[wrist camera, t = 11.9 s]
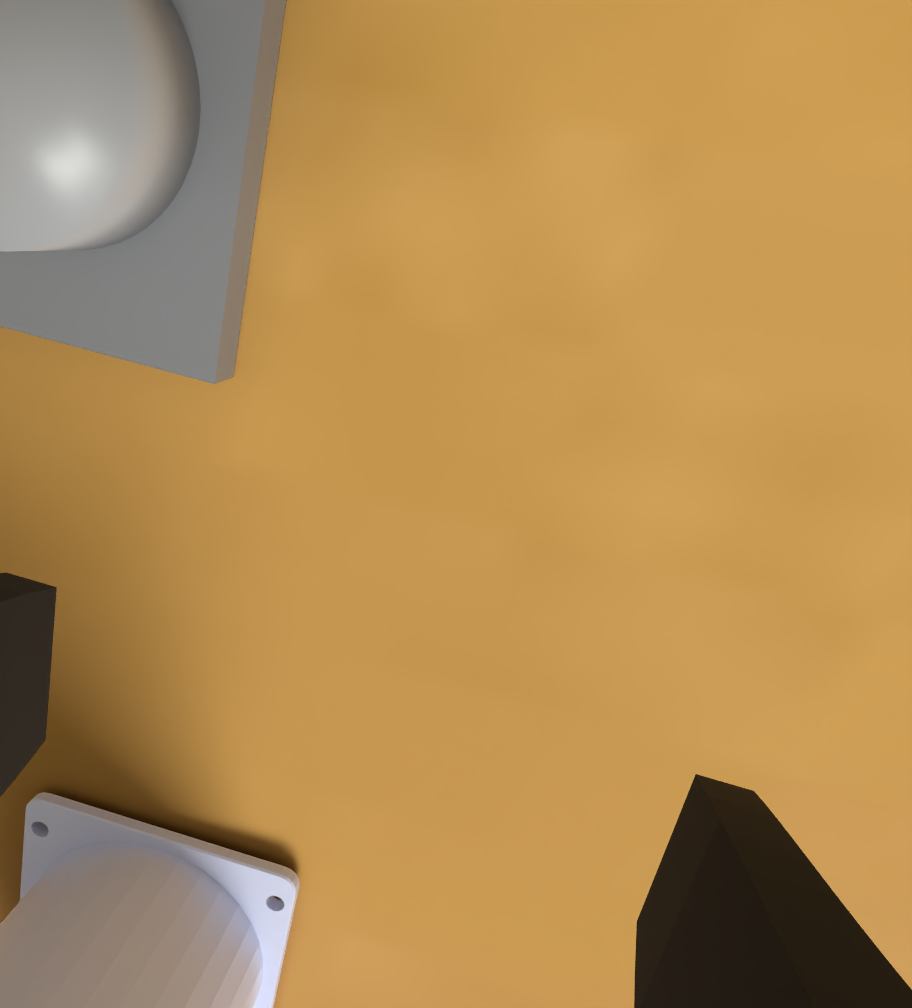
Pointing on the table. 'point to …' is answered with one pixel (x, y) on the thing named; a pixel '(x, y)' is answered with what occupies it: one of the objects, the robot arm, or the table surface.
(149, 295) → the carrier
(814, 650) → the table surface
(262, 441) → the table surface
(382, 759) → the table surface
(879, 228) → the table surface
